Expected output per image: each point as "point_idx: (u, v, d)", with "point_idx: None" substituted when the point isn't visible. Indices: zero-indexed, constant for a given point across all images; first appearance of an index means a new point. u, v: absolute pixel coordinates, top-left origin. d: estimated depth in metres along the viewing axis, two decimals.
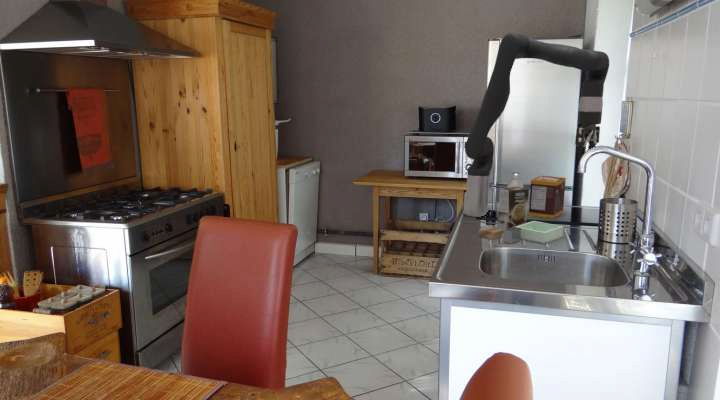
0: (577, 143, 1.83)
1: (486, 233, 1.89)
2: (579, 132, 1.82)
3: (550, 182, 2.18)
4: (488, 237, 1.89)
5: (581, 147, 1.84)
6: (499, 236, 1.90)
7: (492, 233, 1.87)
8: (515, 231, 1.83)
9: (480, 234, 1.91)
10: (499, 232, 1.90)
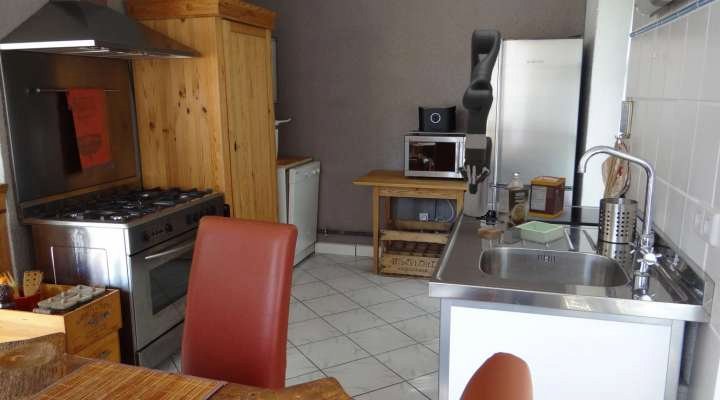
0: (479, 182, 1.91)
1: (485, 233, 1.89)
2: (486, 175, 1.89)
3: (550, 182, 2.18)
4: (487, 237, 1.89)
5: (477, 184, 1.93)
6: (498, 236, 1.90)
7: (491, 233, 1.87)
8: (515, 231, 1.83)
9: (479, 234, 1.91)
10: (498, 232, 1.90)
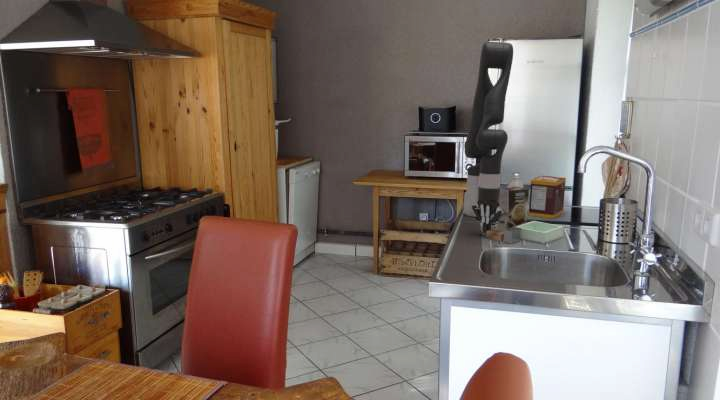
0: None
1: (494, 234, 1.87)
2: (500, 215, 1.87)
3: (550, 182, 2.18)
4: (495, 239, 1.87)
5: (490, 224, 1.91)
6: None
7: (499, 235, 1.85)
8: (515, 231, 1.83)
9: (487, 236, 1.89)
10: None
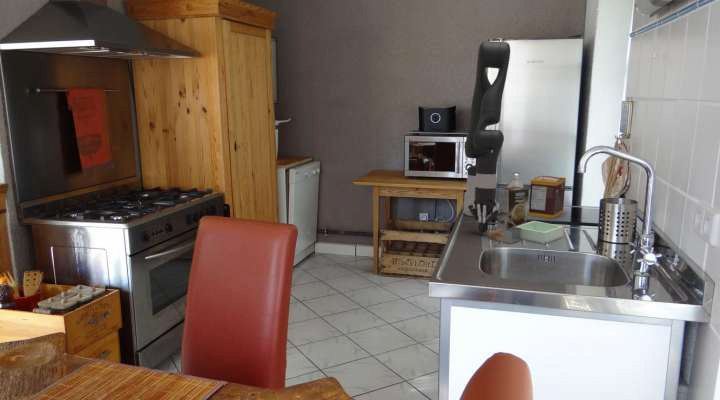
0: (490, 221, 1.91)
1: (497, 235, 1.86)
2: (497, 214, 1.89)
3: (550, 182, 2.18)
4: (498, 239, 1.86)
5: (487, 223, 1.93)
6: None
7: (502, 235, 1.85)
8: (515, 231, 1.83)
9: (490, 236, 1.88)
10: None
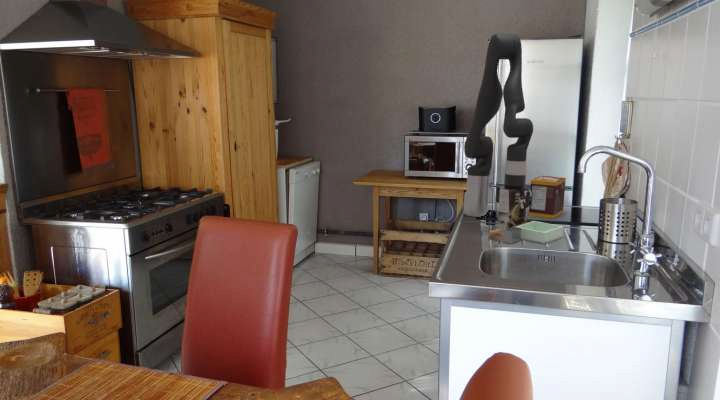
0: (529, 206, 1.94)
1: (497, 235, 1.86)
2: (530, 195, 1.93)
3: (550, 182, 2.18)
4: (498, 239, 1.86)
5: (525, 208, 1.96)
6: None
7: (503, 235, 1.85)
8: (515, 231, 1.83)
9: (490, 236, 1.88)
10: None
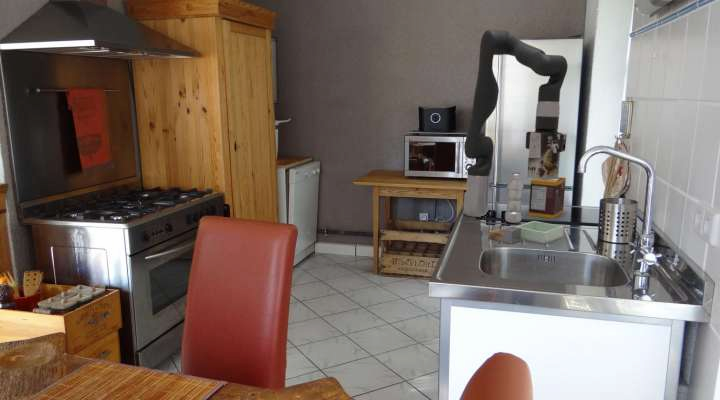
0: (562, 150, 1.80)
1: (497, 235, 1.86)
2: (564, 138, 1.79)
3: (550, 182, 2.18)
4: (498, 239, 1.86)
5: (558, 153, 1.82)
6: None
7: (502, 235, 1.85)
8: (515, 231, 1.83)
9: (490, 236, 1.88)
10: None
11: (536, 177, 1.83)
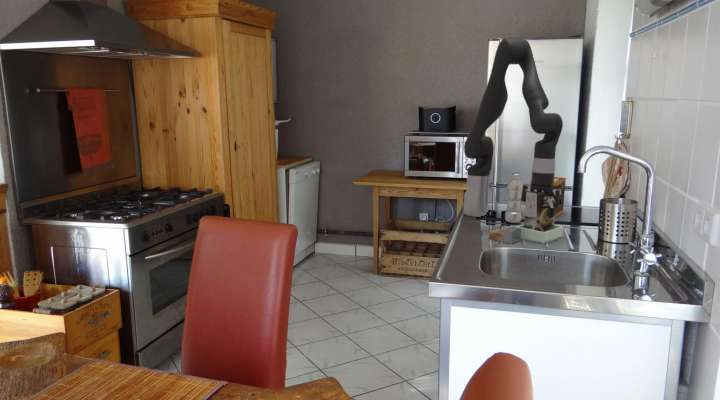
0: (559, 205, 1.83)
1: (497, 235, 1.86)
2: (560, 194, 1.83)
3: None
4: (498, 239, 1.86)
5: (555, 208, 1.85)
6: None
7: (502, 235, 1.85)
8: (515, 231, 1.83)
9: (490, 236, 1.88)
10: None
11: None
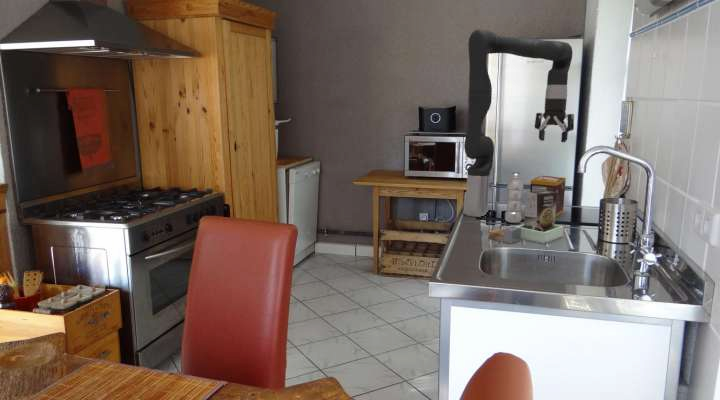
0: (571, 129, 1.94)
1: (496, 235, 1.86)
2: (572, 118, 1.94)
3: (550, 182, 2.18)
4: (498, 239, 1.86)
5: (567, 132, 1.96)
6: None
7: (502, 235, 1.85)
8: (515, 231, 1.83)
9: (490, 236, 1.88)
10: None
11: None
